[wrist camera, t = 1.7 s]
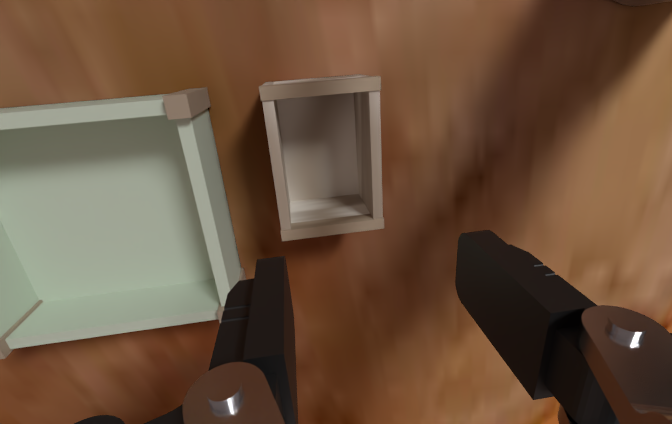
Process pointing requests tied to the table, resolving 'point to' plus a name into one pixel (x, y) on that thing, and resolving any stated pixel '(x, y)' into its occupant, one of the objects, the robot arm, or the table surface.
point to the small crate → (325, 154)
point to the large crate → (111, 219)
